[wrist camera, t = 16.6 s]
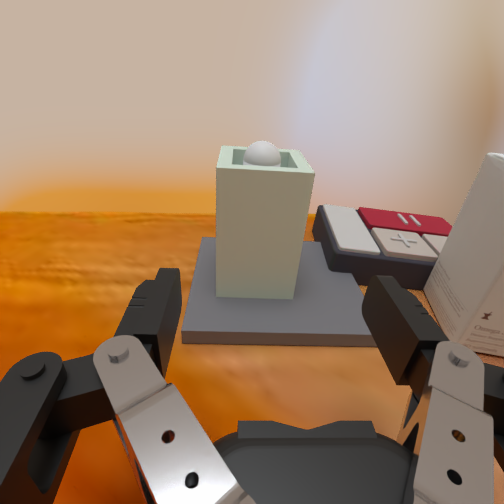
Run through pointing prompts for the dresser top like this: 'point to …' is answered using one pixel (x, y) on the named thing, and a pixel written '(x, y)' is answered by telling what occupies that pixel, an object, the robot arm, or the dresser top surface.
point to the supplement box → (474, 266)
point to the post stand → (277, 310)
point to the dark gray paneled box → (380, 243)
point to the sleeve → (260, 224)
